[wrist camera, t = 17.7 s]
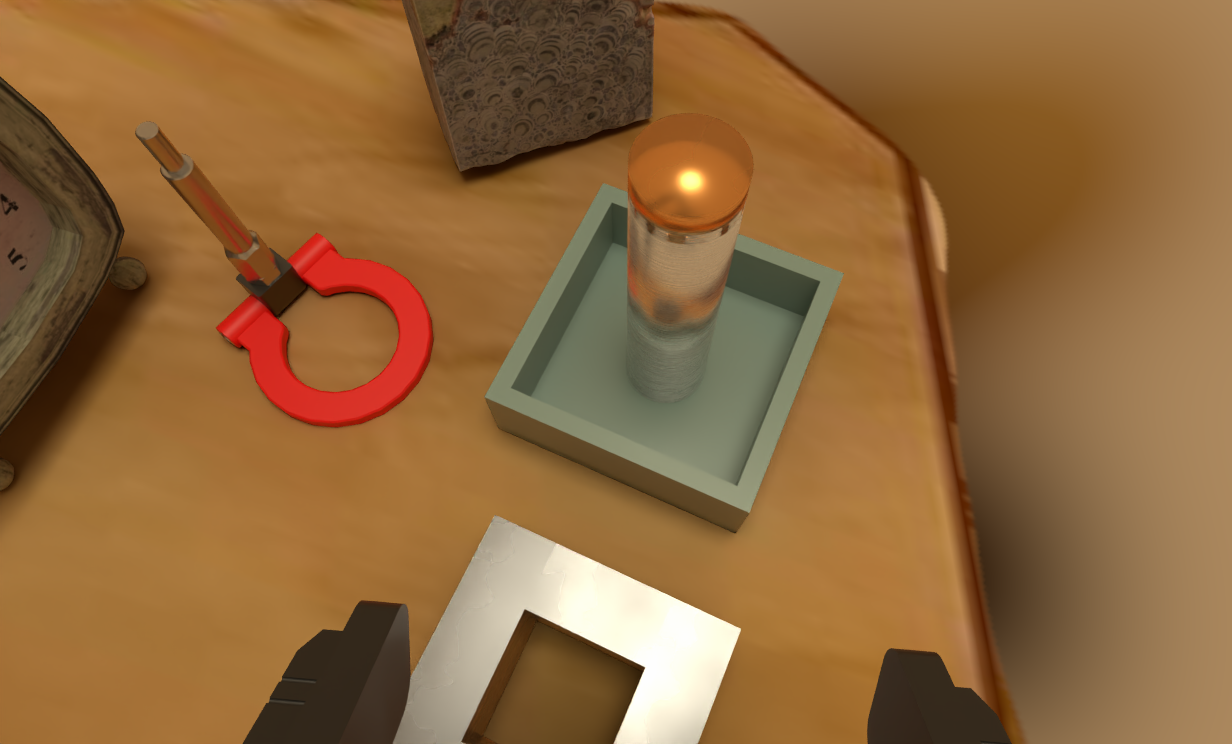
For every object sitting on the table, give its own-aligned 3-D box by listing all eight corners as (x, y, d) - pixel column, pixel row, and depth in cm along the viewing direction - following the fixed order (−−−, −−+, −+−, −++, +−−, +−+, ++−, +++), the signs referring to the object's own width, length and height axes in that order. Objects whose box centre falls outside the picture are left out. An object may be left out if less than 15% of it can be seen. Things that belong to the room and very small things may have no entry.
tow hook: (470, 333, 38) (334, 229, 40) (414, 180, 26) (223, 42, 28) (348, 465, 36) (208, 349, 38) (224, 363, 24) (28, 199, 26)
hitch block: (626, 898, 29) (626, 931, 25) (391, 772, 31) (355, 783, 26) (725, 638, 32) (741, 629, 28) (510, 537, 34) (494, 514, 30)
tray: (735, 533, 34) (749, 512, 30) (498, 428, 36) (484, 397, 32) (822, 314, 38) (843, 273, 34) (604, 230, 40) (603, 183, 36)
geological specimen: (466, 192, 41) (386, -67, 27) (431, 106, 43) (341, -173, 29) (654, 127, 43) (669, -148, 29) (611, 48, 45) (606, -244, 31)
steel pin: (686, 415, 36) (726, 233, 22) (613, 384, 36) (607, 189, 22) (715, 348, 37) (771, 137, 23) (645, 320, 37) (658, 97, 24)
